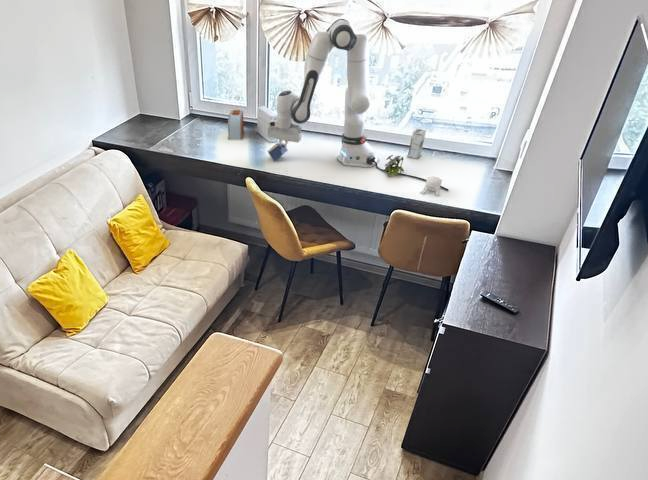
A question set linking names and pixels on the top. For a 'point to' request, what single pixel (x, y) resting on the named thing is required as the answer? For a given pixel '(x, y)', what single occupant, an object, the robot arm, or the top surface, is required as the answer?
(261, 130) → the skincare box
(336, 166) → the top surface
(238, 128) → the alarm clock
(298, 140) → the robot arm
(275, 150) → the dark blue cube
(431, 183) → the white lumpy piece
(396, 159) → the passion flower
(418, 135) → the syrup box
